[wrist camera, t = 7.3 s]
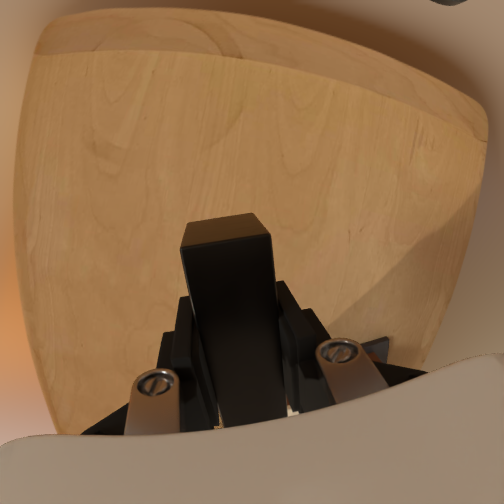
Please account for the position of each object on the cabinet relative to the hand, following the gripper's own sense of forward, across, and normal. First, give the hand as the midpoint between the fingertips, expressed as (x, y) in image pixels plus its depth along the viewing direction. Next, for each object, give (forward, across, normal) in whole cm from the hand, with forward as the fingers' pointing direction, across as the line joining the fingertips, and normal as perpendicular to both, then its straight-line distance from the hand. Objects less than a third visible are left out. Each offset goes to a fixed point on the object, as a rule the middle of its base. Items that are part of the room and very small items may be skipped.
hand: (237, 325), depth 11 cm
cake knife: (+1, 0, +5) cm, 5 cm away
